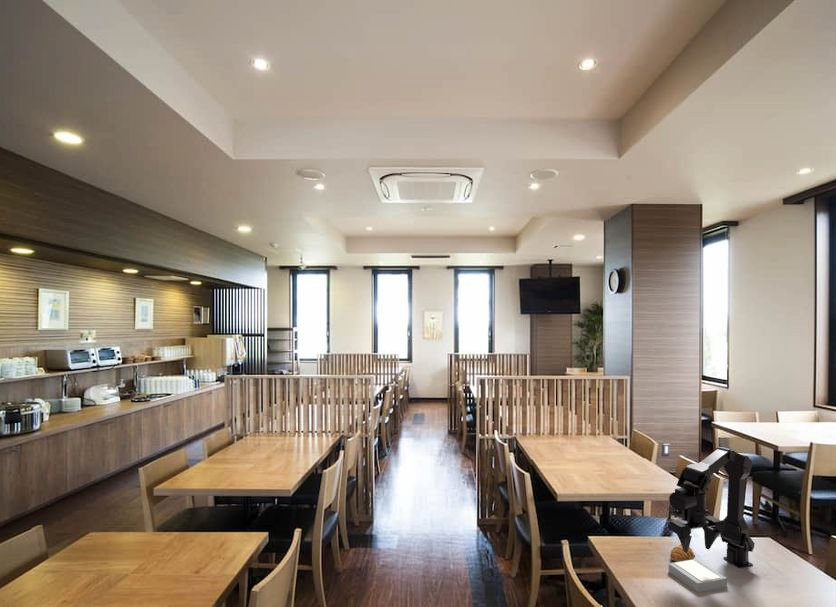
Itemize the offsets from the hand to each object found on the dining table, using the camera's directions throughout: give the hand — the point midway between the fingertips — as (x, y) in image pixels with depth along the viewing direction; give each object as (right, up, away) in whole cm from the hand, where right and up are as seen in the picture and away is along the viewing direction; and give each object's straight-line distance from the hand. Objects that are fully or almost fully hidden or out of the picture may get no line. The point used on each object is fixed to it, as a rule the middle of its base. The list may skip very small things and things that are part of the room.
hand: (696, 550), depth 151 cm
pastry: (-1, -11, +13) cm, 17 cm away
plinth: (0, -10, 0) cm, 10 cm away
